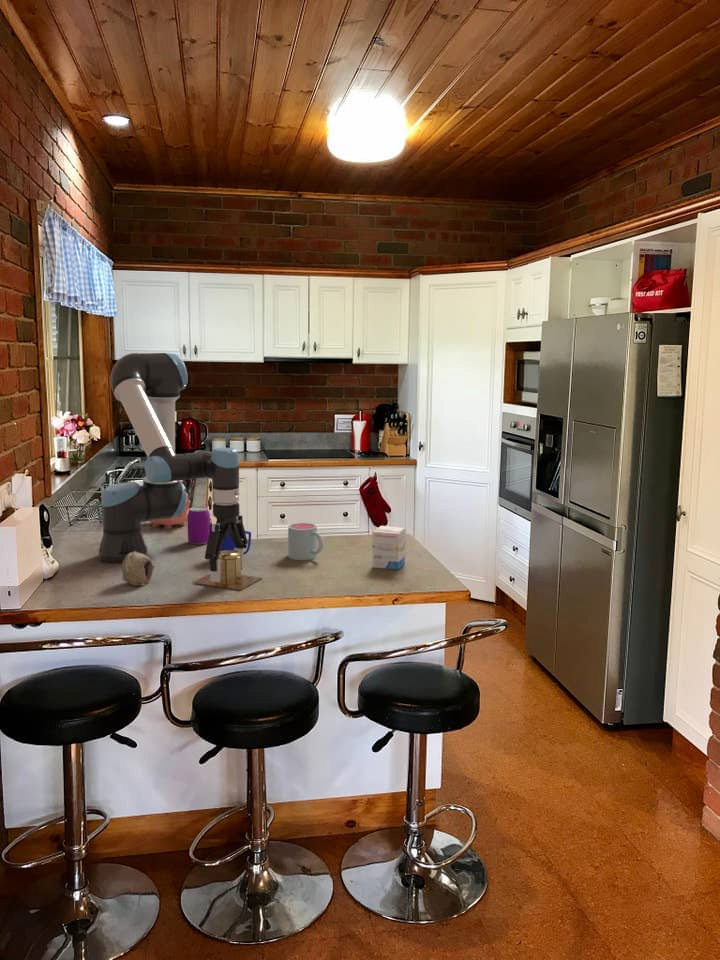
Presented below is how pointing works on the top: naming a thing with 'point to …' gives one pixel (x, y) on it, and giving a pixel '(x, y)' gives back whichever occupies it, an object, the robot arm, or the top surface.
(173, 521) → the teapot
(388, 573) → the top surface
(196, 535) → the beverage can
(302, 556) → the mug
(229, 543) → the mug
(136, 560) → the beige round pot
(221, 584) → the square plate with knob
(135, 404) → the robot arm
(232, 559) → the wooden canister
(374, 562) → the ink box
